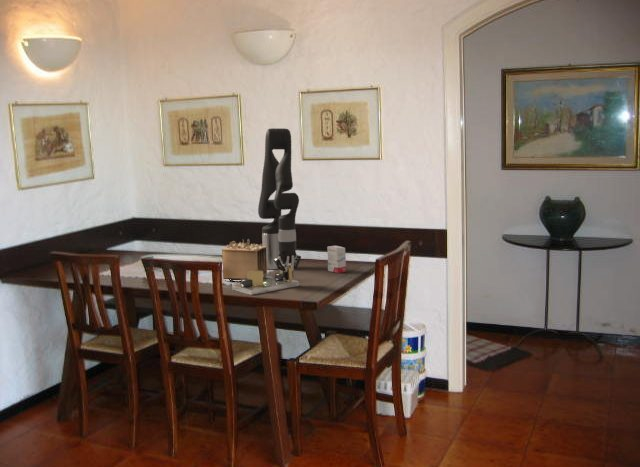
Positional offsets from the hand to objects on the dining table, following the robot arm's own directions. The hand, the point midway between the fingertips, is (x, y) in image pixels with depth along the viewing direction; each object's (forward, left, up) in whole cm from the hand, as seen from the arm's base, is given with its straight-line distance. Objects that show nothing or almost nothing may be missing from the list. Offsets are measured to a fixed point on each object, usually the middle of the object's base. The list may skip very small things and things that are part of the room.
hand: (288, 279), depth 315 cm
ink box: (-9, +36, -3) cm, 37 cm away
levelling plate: (-4, -9, -3) cm, 10 cm away
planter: (-24, -5, -3) cm, 25 cm away
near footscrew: (-4, -16, -1) cm, 17 cm away
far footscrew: (-3, 0, -1) cm, 3 cm away
